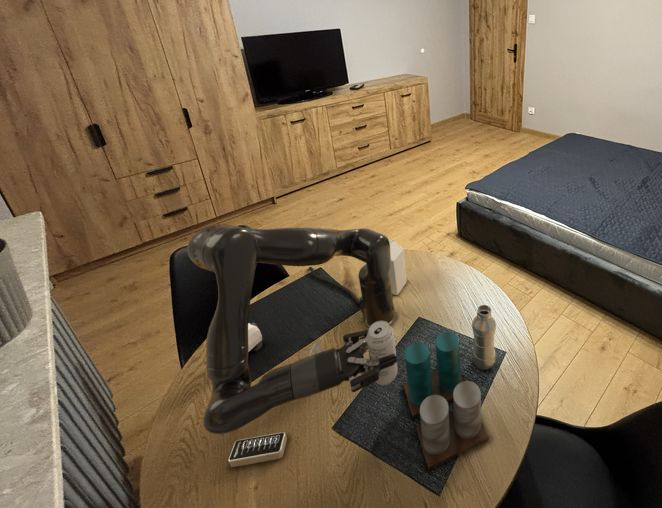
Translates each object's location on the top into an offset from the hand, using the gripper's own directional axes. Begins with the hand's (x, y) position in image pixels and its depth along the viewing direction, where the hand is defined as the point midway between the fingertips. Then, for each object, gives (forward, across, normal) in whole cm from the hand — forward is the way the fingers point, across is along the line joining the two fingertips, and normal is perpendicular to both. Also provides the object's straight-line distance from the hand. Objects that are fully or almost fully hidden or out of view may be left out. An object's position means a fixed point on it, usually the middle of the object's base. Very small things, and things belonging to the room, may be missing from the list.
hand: (392, 346), depth 86 cm
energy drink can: (-2, 0, +9) cm, 9 cm away
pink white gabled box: (-19, +17, +22) cm, 33 cm away
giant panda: (-39, +33, +22) cm, 55 cm away
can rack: (+10, 0, +21) cm, 23 cm away
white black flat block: (-32, +3, +22) cm, 39 cm away
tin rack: (+10, -12, +21) cm, 26 cm away
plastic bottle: (+25, +2, +21) cm, 33 cm away
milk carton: (+9, +43, +21) cm, 49 cm away
